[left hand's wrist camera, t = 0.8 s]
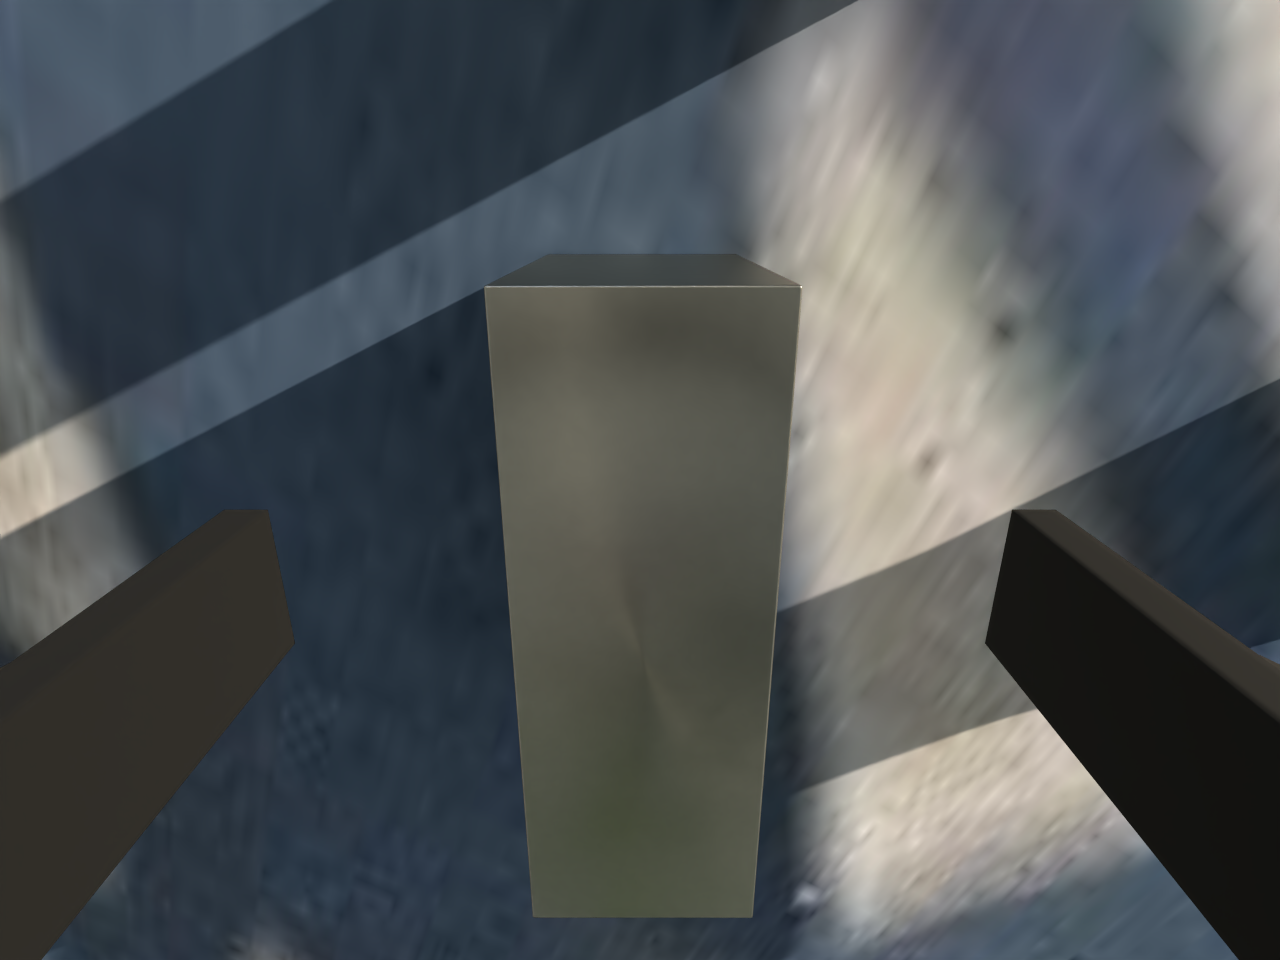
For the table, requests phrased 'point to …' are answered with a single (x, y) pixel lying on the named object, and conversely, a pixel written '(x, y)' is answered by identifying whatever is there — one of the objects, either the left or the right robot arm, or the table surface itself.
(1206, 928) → the table surface
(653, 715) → the box
